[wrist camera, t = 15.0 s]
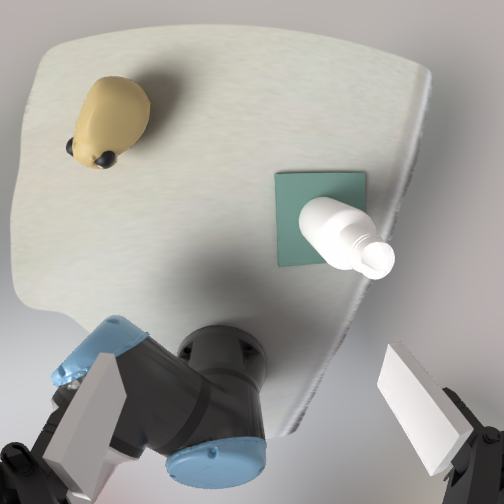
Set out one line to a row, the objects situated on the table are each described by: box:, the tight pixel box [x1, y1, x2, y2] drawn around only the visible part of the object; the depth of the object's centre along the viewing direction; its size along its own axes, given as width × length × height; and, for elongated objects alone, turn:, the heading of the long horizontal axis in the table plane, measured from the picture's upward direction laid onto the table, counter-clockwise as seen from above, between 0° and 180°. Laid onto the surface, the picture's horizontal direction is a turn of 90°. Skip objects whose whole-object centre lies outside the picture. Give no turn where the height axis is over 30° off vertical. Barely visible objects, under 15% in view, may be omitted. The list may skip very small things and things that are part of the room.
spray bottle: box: [299, 197, 395, 280], centre depth 33 cm, size 7×7×18 cm
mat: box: [275, 173, 365, 267], centre depth 42 cm, size 13×13×1 cm
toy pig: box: [66, 76, 151, 169], centre depth 31 cm, size 10×12×11 cm
